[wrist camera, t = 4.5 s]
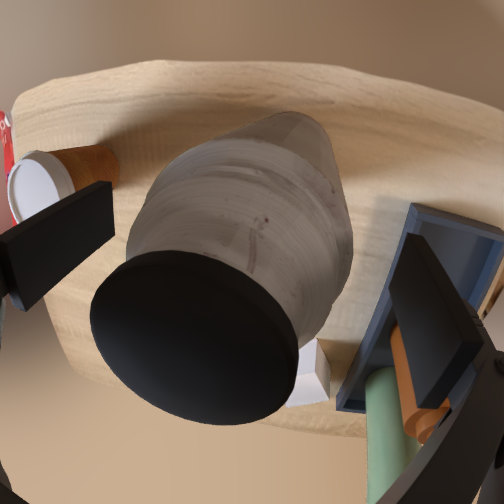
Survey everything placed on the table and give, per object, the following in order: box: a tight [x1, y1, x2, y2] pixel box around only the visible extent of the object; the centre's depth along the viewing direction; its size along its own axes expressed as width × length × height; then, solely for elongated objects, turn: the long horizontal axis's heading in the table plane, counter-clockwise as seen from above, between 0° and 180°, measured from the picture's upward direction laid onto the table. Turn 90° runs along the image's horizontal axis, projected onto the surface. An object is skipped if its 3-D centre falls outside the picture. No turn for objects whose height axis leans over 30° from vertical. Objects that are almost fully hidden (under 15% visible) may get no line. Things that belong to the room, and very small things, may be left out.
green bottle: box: [364, 366, 422, 504], centre depth 27 cm, size 7×7×32 cm
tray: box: [336, 203, 504, 414], centre depth 36 cm, size 32×13×3 cm, turn 174°
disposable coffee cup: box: [7, 145, 119, 224], centre depth 31 cm, size 10×10×12 cm
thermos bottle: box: [90, 112, 353, 425], centre depth 19 cm, size 8×8×28 cm
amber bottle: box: [390, 321, 450, 444], centre depth 28 cm, size 7×7×21 cm
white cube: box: [285, 339, 331, 408], centre depth 40 cm, size 6×6×6 cm
